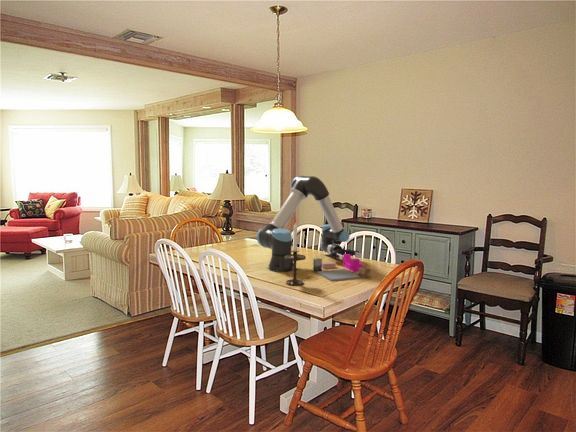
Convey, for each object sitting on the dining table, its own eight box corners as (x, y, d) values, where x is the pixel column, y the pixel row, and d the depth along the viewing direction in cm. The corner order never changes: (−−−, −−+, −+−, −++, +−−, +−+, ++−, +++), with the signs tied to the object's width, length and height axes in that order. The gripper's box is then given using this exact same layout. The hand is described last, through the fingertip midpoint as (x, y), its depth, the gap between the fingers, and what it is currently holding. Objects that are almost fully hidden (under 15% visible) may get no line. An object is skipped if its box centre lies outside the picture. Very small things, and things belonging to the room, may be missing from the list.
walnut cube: (363, 278, 228) (363, 269, 228) (358, 276, 233) (358, 267, 232) (370, 277, 230) (371, 268, 230) (365, 275, 235) (366, 266, 234)
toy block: (363, 271, 244) (363, 259, 243) (353, 272, 242) (353, 259, 242) (352, 265, 258) (352, 254, 258) (343, 266, 257) (343, 254, 256)
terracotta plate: (323, 269, 250) (323, 264, 250) (320, 267, 255) (320, 262, 255) (335, 268, 252) (335, 263, 252) (332, 266, 257) (332, 261, 257)
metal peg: (315, 272, 241) (315, 260, 240) (311, 270, 246) (311, 258, 245) (323, 271, 243) (323, 259, 242) (319, 269, 248) (319, 258, 247)
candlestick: (283, 280, 222) (284, 215, 218) (304, 280, 223) (304, 215, 219) (285, 286, 212) (285, 218, 208) (306, 286, 212) (307, 218, 208)
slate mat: (331, 281, 222) (331, 279, 222) (316, 273, 239) (316, 271, 238) (360, 278, 229) (360, 276, 229) (344, 270, 245) (344, 268, 245)
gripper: (351, 254, 284) (368, 261, 264) (318, 256, 274) (333, 264, 255) (351, 243, 283) (368, 249, 263) (318, 245, 273) (334, 252, 254)
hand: (351, 256), depth 259 cm, fingers open, 13 cm apart
